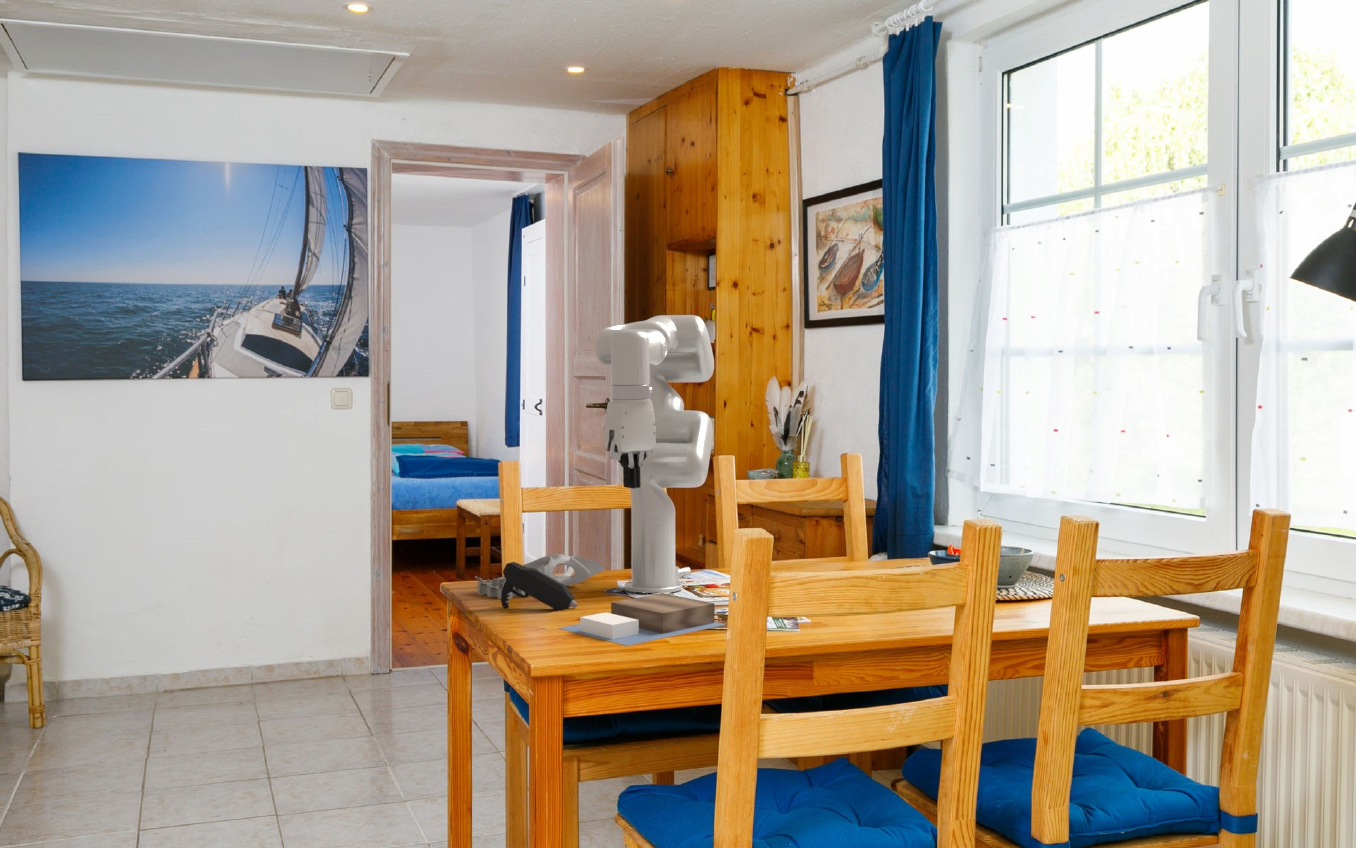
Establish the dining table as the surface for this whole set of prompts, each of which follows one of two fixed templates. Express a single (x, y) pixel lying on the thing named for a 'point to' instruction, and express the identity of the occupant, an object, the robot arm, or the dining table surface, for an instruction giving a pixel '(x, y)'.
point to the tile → (609, 625)
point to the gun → (535, 587)
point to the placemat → (641, 634)
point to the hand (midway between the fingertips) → (632, 487)
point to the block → (665, 612)
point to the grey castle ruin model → (494, 587)
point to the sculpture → (577, 564)
